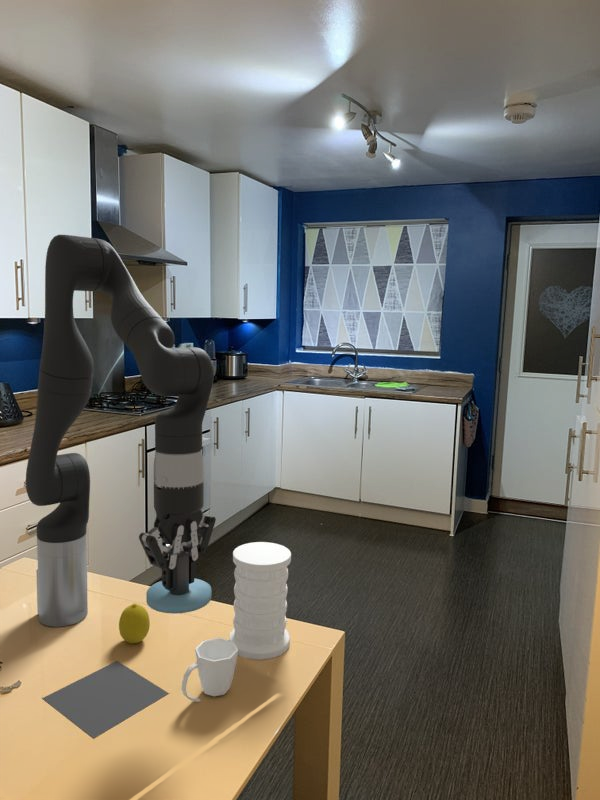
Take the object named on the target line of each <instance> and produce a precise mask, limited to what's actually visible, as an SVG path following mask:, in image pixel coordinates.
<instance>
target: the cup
mask: <svg viewBox="0 0 600 800" xmlns="http://www.w3.org/2000/svg"><path fill="white" fill-rule="evenodd" d="M194 651H195V659H196V662H194V663H192V664H191V665H190V666H188V667H187V669H186V670H185V672H184V674H183V678H182V682H181V691H182V695H183V696H184V697H186V698H187V699H188V700H189V701H191V702H192V701H193V702H195V703H199V702H201V701H202V700H201V699H200V698H198V697H193V696H190V695H188V693H187V684H188V680H189V679H188V678H189V677H190V675H191V673H192V672H193V671H194V670H195V669H197V671H198V677H199V681H200V685H201V688H202V690H203V693H204V695H208V696H210V697H211V696H212V697H218V696H223V695H225V694H226V693H227V692H228V690H229V689H230V688H231V686H232V682H233V679H234V676H235V669H236V664H237V658H238V655H237V654H238V649H237V647H236V645H235V644H234V642H233V641H229V639H227V638H226V639H225V638H222V637H221V638H220V637H217V638H216V637H215V638H209V639H205V640H202V642H201V643H199V644H198V645H197V646H196V647H195V648H194Z"/></svg>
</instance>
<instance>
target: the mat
mask: <svg viewBox="0 0 600 800" xmlns="http://www.w3.org/2000/svg"><path fill="white" fill-rule="evenodd" d="M169 694H170V692H169V691H166V690H164V689H163V688H161V686H158V685H157V684H155V683H153V682H152V681H150V680H149V679H147V678H145V677H144V676H142V675H141V674H139V673H137V672H136V671H134V670H132V669H131V668H129V667H128V666H126V665H125V664H123V663H121V662H120V661H118V660H116V661H114V662H112V663H109V664H108V665H105V666H104V667H101V668H100V669H97V670H95V671H94V672H92V673H89V674H88V675H86V676H84V677H82V678H80V679H78V680H75V681H74V682H72V683H69V684H68V685H66V686H63V687H62V688H59V689H57V690H56V691H53V692H52V693H50V694H48V695H46V696H43V697H42V698H41V699H42V700H43V701H45V702H46V703H47V704H48V705H50V706H51V707H52V708H54V709H55V710H56V711H58V712H59V714H61V715H63V716H64V717H65V718H67V719H68V720H69V721H70V722H71V723H73V724H74V725H76V726H77V727H78V728H79V729H81V731H83V732H84V733H86V734H87V735H88V736H90V737H91V738H92V739H96V738H98V737H99V736H100V735H102V734H104V733H105V732H107V731H109V730H111V729H112V728H114V727H116V726H118V725H119V724H120V723H122V722H124V721H127V719H129V718H130V717H133V716H134V715H136V714H137V713H139V712H141V711H142V710H144V709H146V708H147V707H149V706H150V705H153V704H154V703H156V702H158V701H159V700H161V699H163V698H164V697H166V696H168V695H169Z"/></svg>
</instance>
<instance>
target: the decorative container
mask: <svg viewBox="0 0 600 800" xmlns="http://www.w3.org/2000/svg"><path fill="white" fill-rule="evenodd" d="M232 562H233V563H234V565H235V568H234V572H233V575H234V580H235V584H234V587H233V593H234V601H233V610H234V616H233V618H232V624H233V629H232V630H230V633H229V635H228V636H229V637H228V640H229V641H233V642H234V644H235V645H236V647H237V649H238V654H237V656H238V657H239V656H240V657H241V658H245V659H247V660H248V659H249V660H255V661H256V660H257V661H259V660H260V661H261V660H269V659H274V658H278V657H279V656H281V655H282V654H283V655H284V653H286V651H288V649H289V648H290V643H291V642H290V641H291V635H290V633H289V632H288V630H287V629H286V626H287V624H288V623H287V622H288V621H287V617H286V613H287V611H288V602H287V595H288V590H289V589H288V584H287V581H288V579H289V568H288V566H289V565H290V564H291V562H292V552H291V551H290V549H289V548H288V547H286V546H284V545H283V544H279V543H275V542H267V541H256V542H248V543H244V544H241V545H238V546H237V547H236V548H234V550H233V551H232Z"/></svg>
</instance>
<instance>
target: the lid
mask: <svg viewBox="0 0 600 800" xmlns="http://www.w3.org/2000/svg"><path fill="white" fill-rule="evenodd" d="M175 568H177V589H176V590H175V591H172V592H171V591H169V590H167V589H165V587H163V585H162V580H160V581H158V582H156V583H154V584H152V585H150V587H148V589H147V590H146V592H145V593H146V596H145V597H146V601H145V602H146V605H148V607H149V608H150V609H151V610H154V611H156V612H159V613H163V614H173V615H174V614H185V613H190V612H195V611H197V610H200V609H202V608H204V607H206V606H207V605H208V604H209V603H210V602H211V600H212V587H211V585H210V584H209V583H208V582H206V581H204V580H202V579H199V578H196V577H195V578H194V583H191V584H189V553H188V552H186V551H182V550H180V552H179V554H177V559H176V566H175Z"/></svg>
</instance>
